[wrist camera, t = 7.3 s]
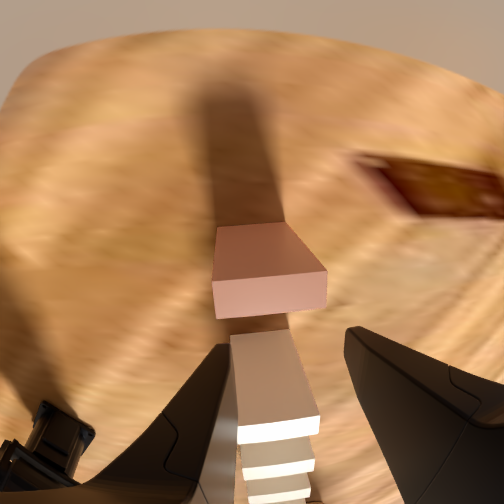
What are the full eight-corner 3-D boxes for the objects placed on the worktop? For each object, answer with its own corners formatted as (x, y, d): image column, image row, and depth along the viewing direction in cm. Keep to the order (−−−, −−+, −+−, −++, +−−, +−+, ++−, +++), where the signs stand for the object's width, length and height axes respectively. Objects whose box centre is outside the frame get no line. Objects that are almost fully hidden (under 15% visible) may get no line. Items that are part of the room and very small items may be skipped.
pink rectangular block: (286, 245, 21) (326, 307, 12) (219, 250, 21) (216, 318, 12) (285, 221, 20) (327, 270, 12) (217, 227, 20) (211, 281, 12)
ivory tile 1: (289, 346, 23) (318, 433, 15) (232, 352, 23) (237, 444, 15) (289, 328, 23) (320, 415, 14) (229, 335, 23) (234, 426, 14)
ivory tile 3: (290, 417, 26) (309, 496, 17) (242, 423, 26) (249, 505, 17) (289, 406, 25) (311, 487, 17) (240, 412, 25) (247, 496, 17)
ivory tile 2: (289, 385, 25) (313, 471, 16) (237, 391, 24) (244, 480, 16) (289, 371, 24) (315, 458, 16) (235, 377, 24) (242, 468, 15)
